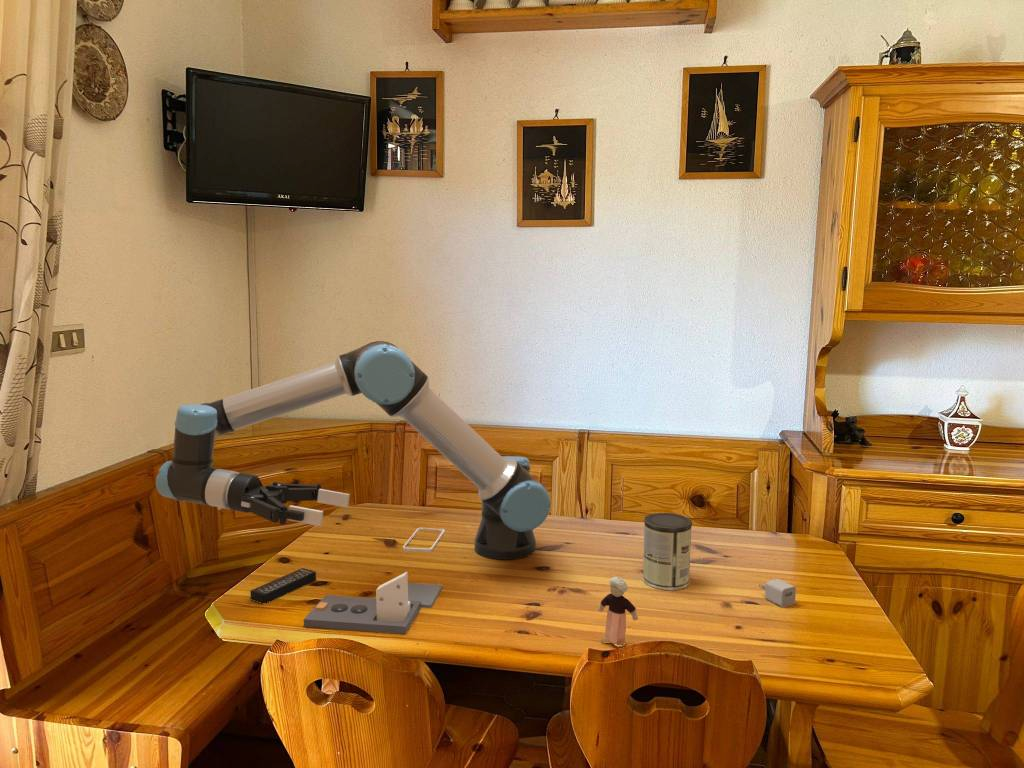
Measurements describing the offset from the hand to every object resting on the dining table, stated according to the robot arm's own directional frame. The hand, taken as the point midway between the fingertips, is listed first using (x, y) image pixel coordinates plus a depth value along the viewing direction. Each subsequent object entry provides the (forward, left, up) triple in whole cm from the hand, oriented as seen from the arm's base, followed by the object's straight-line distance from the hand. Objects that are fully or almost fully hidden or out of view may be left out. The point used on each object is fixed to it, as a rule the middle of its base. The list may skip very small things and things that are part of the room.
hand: (336, 509), depth 142 cm
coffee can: (-66, -25, -21) cm, 74 cm away
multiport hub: (+15, -8, -21) cm, 27 cm away
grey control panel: (-6, +2, -21) cm, 22 cm away
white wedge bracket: (-12, +2, -21) cm, 24 cm away
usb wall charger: (-88, -19, -21) cm, 92 cm away
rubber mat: (-12, -9, -21) cm, 26 cm away
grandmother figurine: (-55, +5, -21) cm, 59 cm away
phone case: (-7, -41, -22) cm, 47 cm away
